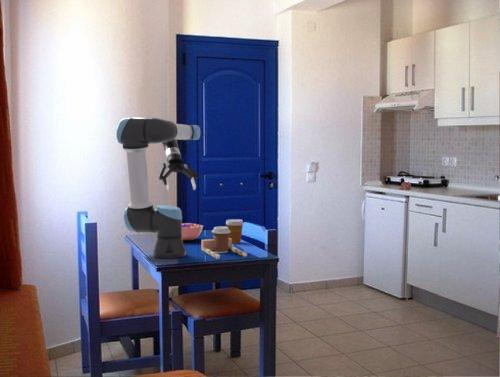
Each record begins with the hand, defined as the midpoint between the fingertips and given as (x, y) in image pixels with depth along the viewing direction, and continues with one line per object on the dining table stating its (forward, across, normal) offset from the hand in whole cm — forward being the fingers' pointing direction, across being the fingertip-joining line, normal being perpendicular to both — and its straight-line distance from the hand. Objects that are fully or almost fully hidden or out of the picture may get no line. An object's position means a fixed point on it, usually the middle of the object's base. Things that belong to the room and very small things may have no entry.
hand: (181, 188), depth 295 cm
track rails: (+37, -14, -5) cm, 40 cm away
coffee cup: (+34, -14, -8) cm, 38 cm away
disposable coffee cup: (+19, -29, -23) cm, 42 cm away
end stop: (+29, -14, -13) cm, 35 cm away
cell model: (+8, -7, -34) cm, 36 cm away
